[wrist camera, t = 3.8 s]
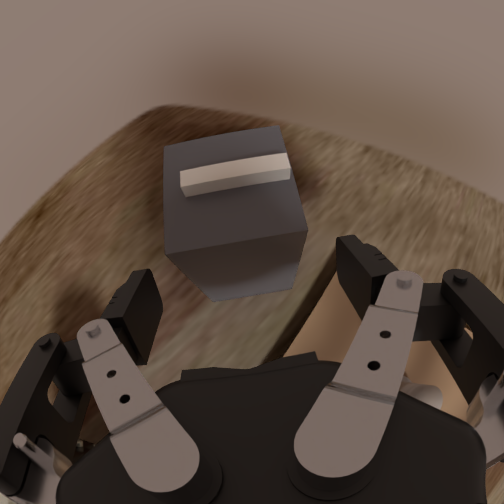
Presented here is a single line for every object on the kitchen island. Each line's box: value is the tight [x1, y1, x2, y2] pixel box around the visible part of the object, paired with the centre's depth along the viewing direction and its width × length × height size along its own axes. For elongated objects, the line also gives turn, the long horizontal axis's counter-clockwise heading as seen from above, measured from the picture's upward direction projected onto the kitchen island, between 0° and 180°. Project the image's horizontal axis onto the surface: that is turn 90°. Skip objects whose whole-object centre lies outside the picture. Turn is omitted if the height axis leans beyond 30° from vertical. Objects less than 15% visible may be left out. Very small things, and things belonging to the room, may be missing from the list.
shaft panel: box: [283, 270, 473, 422], centre depth 14 cm, size 16×14×6 cm
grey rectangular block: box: [163, 125, 308, 302], centre depth 16 cm, size 6×6×11 cm
